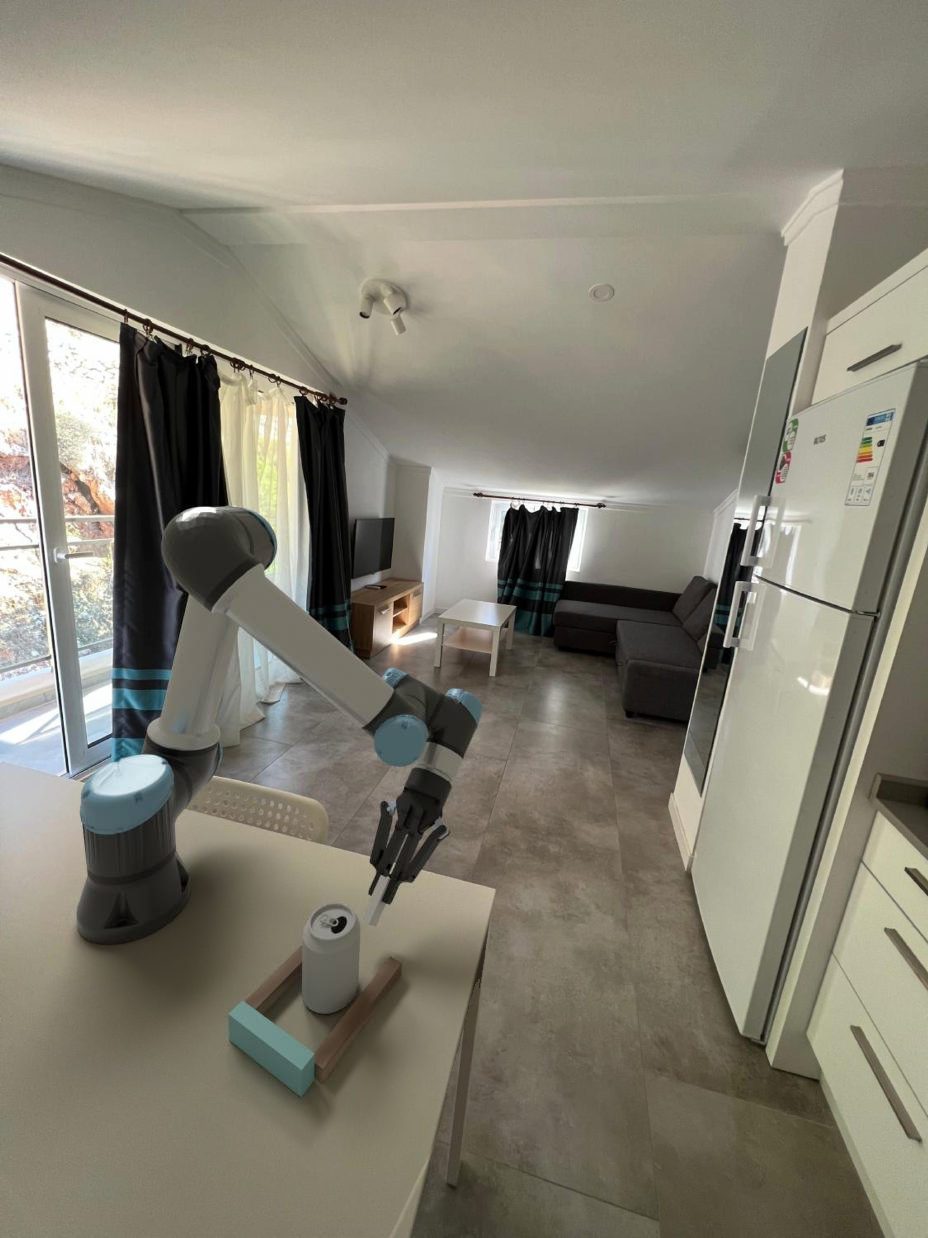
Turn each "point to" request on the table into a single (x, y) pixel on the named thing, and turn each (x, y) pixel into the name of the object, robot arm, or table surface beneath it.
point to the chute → (350, 1021)
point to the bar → (272, 1048)
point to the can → (330, 958)
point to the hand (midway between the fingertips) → (368, 923)
